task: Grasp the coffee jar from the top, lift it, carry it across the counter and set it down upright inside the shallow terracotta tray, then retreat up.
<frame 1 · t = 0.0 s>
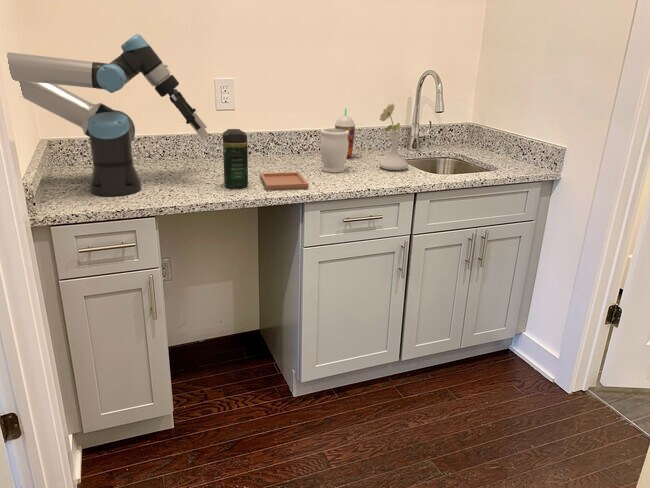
hand: (204, 132, 184), 15 cm above the worktop, tool tilted 35°, fingers open, 13 cm apart
flower in vase: (391, 169, 207), on the worktop
coffee jar: (236, 185, 179), on the worktop
tray: (283, 183, 183), on the worktop
smoothie: (343, 158, 224), on the worktop
jar: (333, 170, 203), on the worktop
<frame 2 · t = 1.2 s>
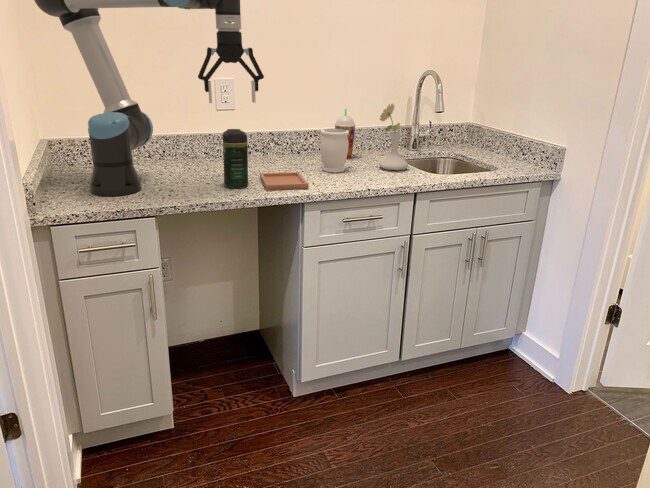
hand: (232, 102, 170), 27 cm above the worktop, tool pointing down, fingers open, 13 cm apart
nothing on the worktop moved.
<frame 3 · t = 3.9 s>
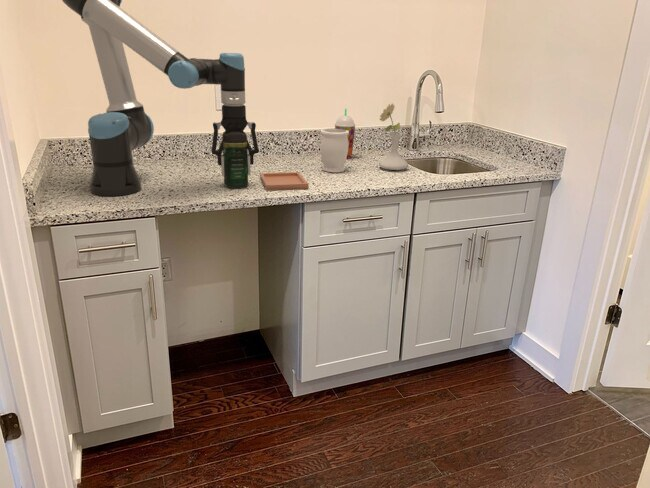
hand: (236, 174, 178), 4 cm above the worktop, tool pointing down, fingers closed on coffee jar, 8 cm apart
coffee jar: (236, 185, 179), on the worktop, touching gripper
everything else where it was.
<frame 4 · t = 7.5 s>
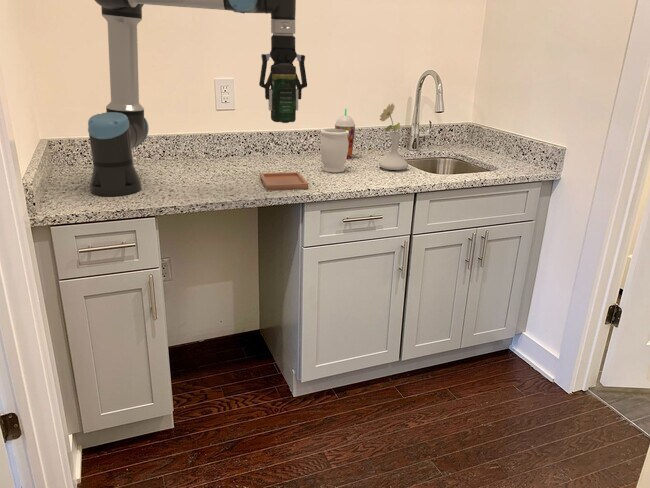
hand: (283, 109, 174), 25 cm above the worktop, tool pointing down, fingers closed on coffee jar, 8 cm apart
coffee jar: (283, 122, 175), point 21 cm above the worktop, touching gripper
everything else where it was.
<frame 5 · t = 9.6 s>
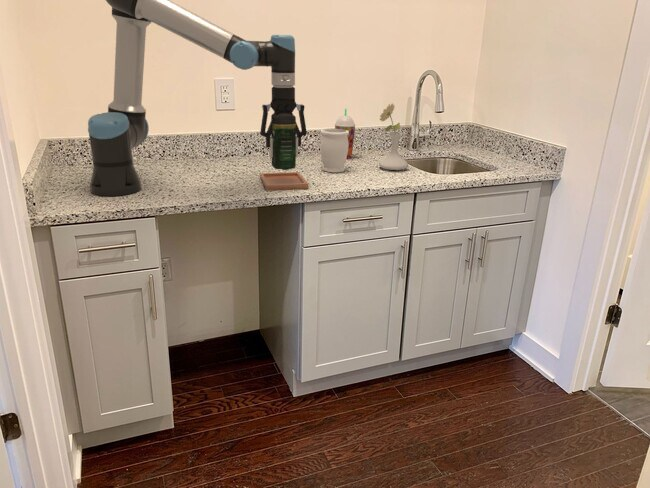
hand: (283, 156, 180), 9 cm above the worktop, tool pointing down, fingers closed on coffee jar, 8 cm apart
coffee jar: (283, 167, 181), point 5 cm above the worktop, touching gripper
everything else where it was.
when the fingers open (6 cm above the worktop, at t = 11.2 s): coffee jar drops 1 cm, resting on tray.
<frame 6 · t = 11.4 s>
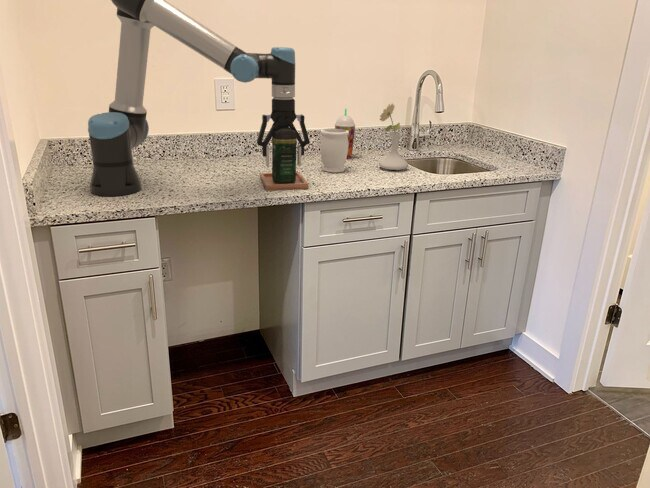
hand: (283, 165, 181), 6 cm above the worktop, tool pointing down, fingers open, 10 cm apart
coffee jar: (284, 181, 183), point 1 cm above the worktop, touching tray
everything else where it was.
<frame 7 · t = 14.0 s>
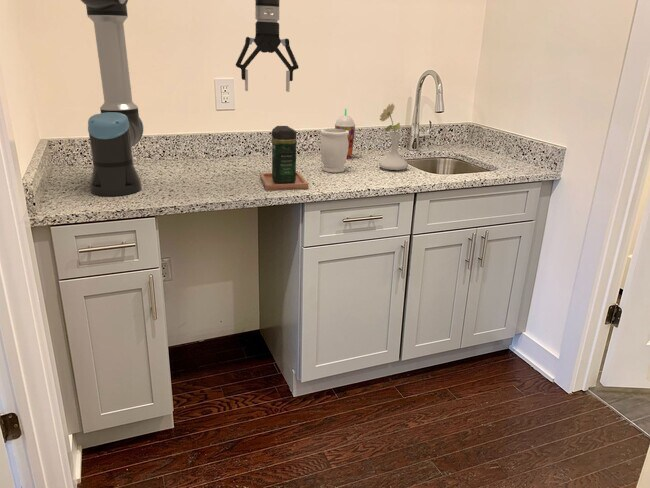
hand: (267, 91, 176), 30 cm above the worktop, tool pointing down, fingers open, 13 cm apart
nothing on the worktop moved.
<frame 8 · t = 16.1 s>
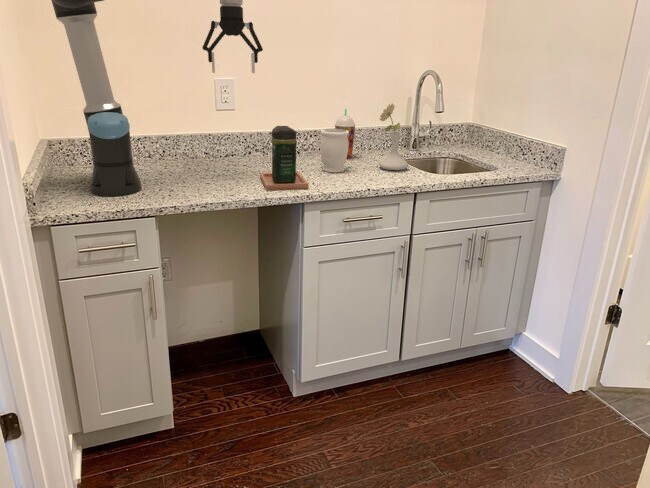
hand: (233, 72, 185), 35 cm above the worktop, tool pointing down, fingers open, 13 cm apart
nothing on the worktop moved.
at the end: coffee jar 0.2 cm off-centre on the tray, point 0.6 cm above the tray's base; coffee jar tilted 0°; the gripper is holding nothing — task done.
